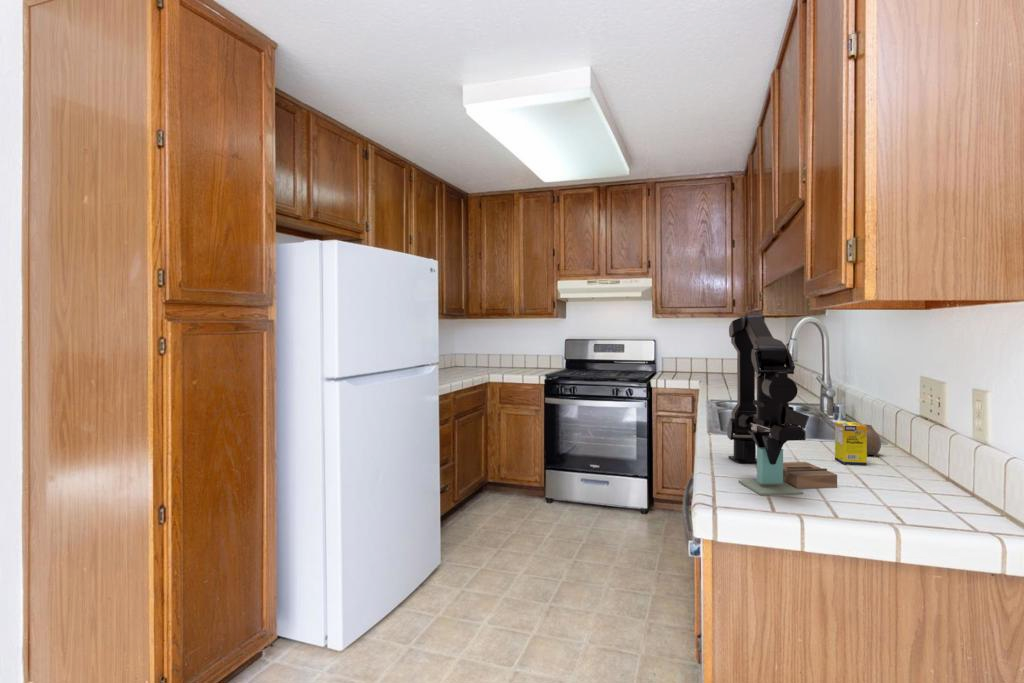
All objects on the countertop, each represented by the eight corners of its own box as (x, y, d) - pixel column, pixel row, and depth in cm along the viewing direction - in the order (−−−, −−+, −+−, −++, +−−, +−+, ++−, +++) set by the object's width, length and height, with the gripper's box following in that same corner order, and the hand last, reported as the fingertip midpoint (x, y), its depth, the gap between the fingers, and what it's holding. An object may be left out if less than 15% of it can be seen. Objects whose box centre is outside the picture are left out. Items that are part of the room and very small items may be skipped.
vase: (886, 457, 151) (886, 427, 151) (862, 457, 151) (862, 427, 151) (870, 451, 158) (870, 422, 158) (847, 451, 158) (847, 423, 158)
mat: (738, 482, 128) (738, 480, 128) (777, 481, 129) (777, 479, 129) (760, 495, 118) (760, 493, 118) (803, 494, 119) (803, 491, 119)
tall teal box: (756, 480, 125) (757, 447, 125) (777, 480, 125) (777, 446, 125) (762, 483, 122) (762, 449, 122) (782, 483, 123) (783, 449, 123)
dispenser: (768, 474, 135) (768, 461, 135) (805, 473, 136) (805, 460, 136) (796, 488, 123) (796, 474, 123) (837, 487, 124) (837, 473, 124)
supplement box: (867, 465, 143) (867, 425, 142) (843, 464, 144) (843, 425, 143) (857, 460, 148) (858, 421, 148) (834, 459, 150) (834, 421, 149)
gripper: (829, 402, 114) (828, 472, 115) (780, 391, 133) (779, 452, 133) (780, 403, 114) (780, 474, 114) (737, 392, 132) (737, 453, 133)
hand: (769, 462), depth 124 cm, fingers closed on tall teal box, 2 cm apart
